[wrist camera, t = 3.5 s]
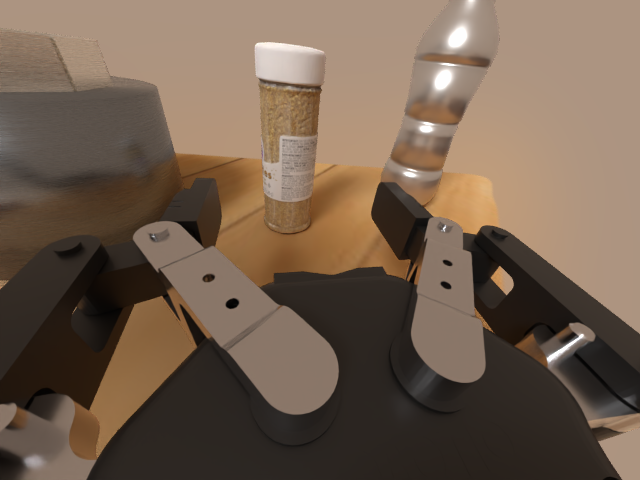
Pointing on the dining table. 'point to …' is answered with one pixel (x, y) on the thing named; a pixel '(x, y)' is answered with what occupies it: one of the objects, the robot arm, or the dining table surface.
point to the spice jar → (288, 130)
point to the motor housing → (76, 148)
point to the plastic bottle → (441, 93)
